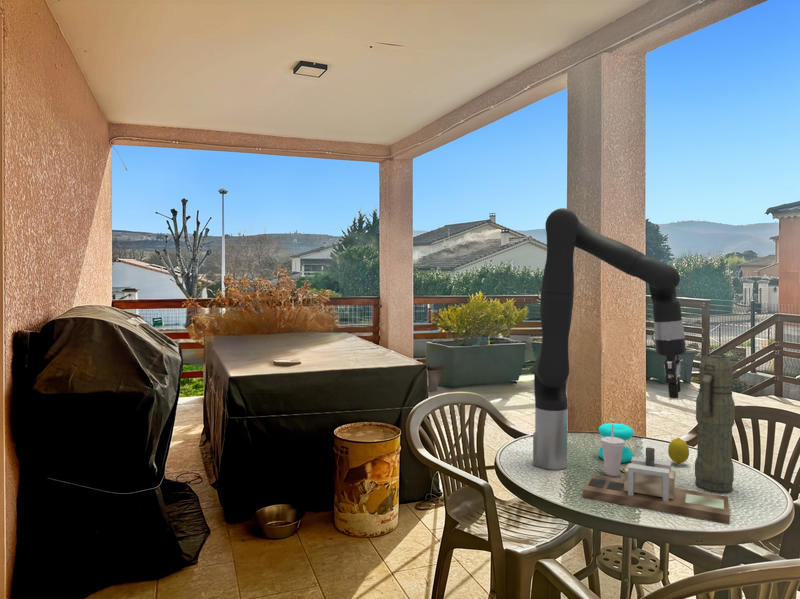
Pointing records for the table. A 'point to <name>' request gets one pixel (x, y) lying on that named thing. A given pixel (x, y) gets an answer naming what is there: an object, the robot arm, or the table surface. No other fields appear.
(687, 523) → the table surface
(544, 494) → the table surface
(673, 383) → the robot arm
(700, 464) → the green stone statue
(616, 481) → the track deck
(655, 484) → the block
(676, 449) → the lemon
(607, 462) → the smoothie
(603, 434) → the donuts
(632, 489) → the tunnel
